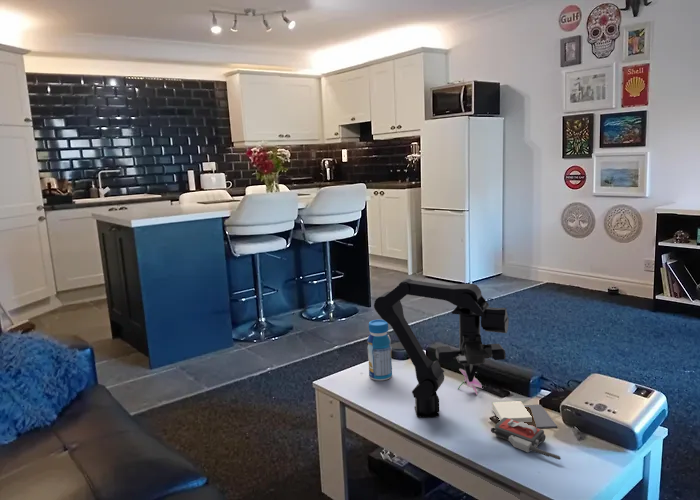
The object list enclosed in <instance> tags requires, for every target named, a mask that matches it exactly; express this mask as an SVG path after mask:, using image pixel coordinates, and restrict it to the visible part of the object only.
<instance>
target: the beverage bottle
mask: <svg viewBox="0 0 700 500" xmlns="http://www.w3.org/2000/svg"><path fill="white" fill-rule="evenodd" d="M368 332H369V335H368V337H367V344H368V345H367V346H366V347H367V349H366V351H367V357H368V376H369V378H370V379H371V380H374V381H378V382H379V381H380V382H383V381H387V380H389V379H391V378H392V377H393V366H392V365H393V364H392V350H393V349H392V345H391V342H392V340H391V337H390V335H389V333H388V332H389V324H388V323H387V322H386V321H384V320H383V319H372V320H370V321H369V322H368Z"/></svg>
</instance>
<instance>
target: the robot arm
mask: <svg viewBox="0 0 700 500" xmlns="http://www.w3.org/2000/svg"><path fill="white" fill-rule="evenodd" d="M407 295H409V296H415V297H421V298H427V299H434V300H441V301H446V302H448V303H450V304H452V305H453V306H456V307H454V309H453V310H452V311H451V314H452V315H459V316H458V320H459V323H458V324H459V325H458V326H459V328H458V329H459V331H458V334H459V349H452V348H451V346H437V347H436V348H435V357H436V360H434V361H433V360H431V359H430V358H429V357H428V356H427V354H426V352H425V350H424V348H423V347H422V345H421V344H420V342H419V340H418V339H417V337H416V335H415V333H414V331H413V330H412V328H411V326H410V325H409V323H408V322H407V320H406V318H405V316H404V308H403V305H402V302H401V300H402V299H404V297H406V296H407ZM373 308H374V311H375V312H376V313H377V314H378V316H379V317H380V319H381V320H384V321H386V322H387V323H388V325H390V327H391V329H392V330H393V332H394V334H395V335H396V337H397V338H398V340H399V342H400V344H401V345H402V348H403V349H404V351H405V353H406V354H407V356H408V358H409V360H410V361H411V363H412V365H413V366H414V371H415V377H416V381H417V383H418V384H416V386H415V387H414V388H413V390H411V393H412V396H413V398H414V401H415V402H414V403H415V404H414V410H415V415H416V418H435V417H439V416H440V414H439V412H440V398H439V396H438V394H437V391H438V390H439V389H440V388H441V387H442V385H443V383H444V381H445V375H444V372H445V370H444V369H443V368H442V367H441V365H440V364H442V363H443V364H444V363H446V364H447V363H451V362H453V360H454V358H455V359H456V360H457V363H458V364H459V365H462V367H463V368H464V369H463V370H464V371H465V372H466V374H467V377H468V380H469V382H472V381H473V378H474V376H476V372H477V370H478V369H479V366H480V365H482V364H485V362H486V359H490V358H492V359H494V361H501V360H506V359H507V358H506V355H507V354H506V350H505V348H503V346H502V345H501V344H500V343H487V344H485V343H483V342H482V337H481V328H482V330H483V331H485V332H490V333H498V334H499V333H500V334H507V333H508V330H509V324H510V323H509V319H510V318H509V315H508V311H507V310H508V309H507V308H506V307H490V304H489V303H488V302H487V300H486V299H485V298H484V296H483V294H482V290H481V289H480V287H479V286H478V285H477V284H475V283H458V284H452V285H451V284H450V285H449V284H441V283H435V282H428V281H422V280H421V281H420V280H413V279H410V278H406V279H404V280H402V281H401V282H400V283H399V284H398V285H397V286H396V287H394V288H393V289H391V291H386V292H384V293H383V294H381V295H379V297H377V298H376V299H375V301H374V305H373Z"/></svg>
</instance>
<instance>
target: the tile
mask: <svg viewBox="0 0 700 500" xmlns="http://www.w3.org/2000/svg"><path fill="white" fill-rule="evenodd" d="M491 403H492V404H491V406H492V407H491V409H492V411H493V412H494V414H495V416H496V418H497V417H498V418H499V419H498V418H497V419H498V421H499V420H502V419H503V418H509V419H512V420H515V421H518V422H532V416H531V415H530V413H529V412H528V411H527V409H526V408H525V406H524V404H523V402H522V401H521V400H518V401H517V400H515V401H513V400H511V401H497V402H496V401H495V402H491Z"/></svg>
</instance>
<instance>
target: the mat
mask: <svg viewBox="0 0 700 500" xmlns="http://www.w3.org/2000/svg"><path fill="white" fill-rule="evenodd" d="M523 405H524V404H523ZM524 406H525V407H529V408H531V410H532V413H533V416H534V420H535V423H536V427H537V428H539V429H550V428H551V429H553V428H558V425H557V424H556V423H555V421H554V420H553V419H552V417H551V416H550V415H549V413H548V412H547V411H546V409H545V408H544V407H543V406H542V405H541V404H525V405H524Z"/></svg>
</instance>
